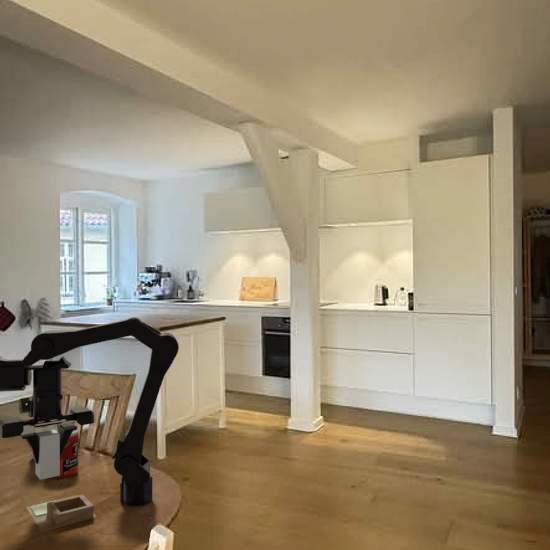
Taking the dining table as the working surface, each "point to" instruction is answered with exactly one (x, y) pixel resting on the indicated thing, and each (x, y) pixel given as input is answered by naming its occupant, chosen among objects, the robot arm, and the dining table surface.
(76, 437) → the canned food
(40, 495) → the dining table surface
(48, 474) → the block
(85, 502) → the brown slotted holder
